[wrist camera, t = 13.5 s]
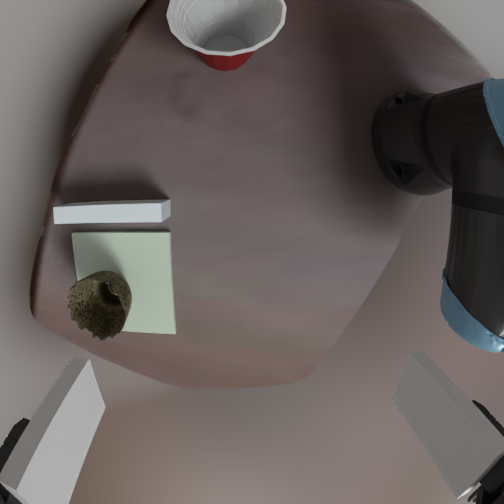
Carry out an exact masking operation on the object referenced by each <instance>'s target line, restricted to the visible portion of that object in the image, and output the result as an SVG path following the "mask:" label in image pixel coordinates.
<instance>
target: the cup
mask: <svg viewBox="0 0 504 504" xmlns="http://www.w3.org/2000/svg"><path fill="white" fill-rule="evenodd" d="M69 292H70V293H69V295H68V298H69V299H70V300H71V301H70V302H69V305H68V308H71V318H72V321H74V322H75V323H77V324H78V327H79V329H80V330H83V329H85V328H87V329H88V330H89V331H90V332H93V338H96V337H97V336H98V337H99V339H100V340H105V339H107V338H108V337H109V336H111V338H114V337H115V336H116V334H117V332H118V333H120V332H121V330H122V329H123V328H124V325H125V322H126V319H127V317H128V314H129V311H130V308H131V304H132V293H131V289H130V287H129V285H128V283H127V281H126V280H125V278H124V277H122V276H121V275H119V274H117V273H115V272H112V271H107V270H104V271H99V272H95V273H93V274H91V275H89V276H87V277H85V278H83V279H81V280H79V281H77V282H75V285H74V286H72V287H71V288H70V290H69Z"/></svg>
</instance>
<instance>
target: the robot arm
mask: <svg viewBox="0 0 504 504" xmlns="http://www.w3.org/2000/svg"><path fill="white" fill-rule="evenodd" d="M372 140H373V147H374V151H375V155H376V158H377V160H378V163H379V165H380V167H381V169H382V170H383V172H384V174H385V175H386V176H387V178H388V179H389V180H390V181H391V182H392V183H393V184H394V185H395V186H397V187H398V188H399V189H401V190H403V191H405V192H407V193H411V194H417V195H433V194H437V193H439V192H442V191H444V190H447V189H449V188H452V208H451V224H450V235H449V243H448V251H447V258H446V265H445V268H444V269H443V273H442V278H443V286H442V293H441V299H440V307H441V312H442V314H443V316H444V318H445V320H446V321H447V322H448V325H449V326H450V327H451V329H453V331H454V332H455V333H456V334H457V335H459V336H460V337H461V338H462V339H464V340H465V341H467V342H468V343H470V344H472V345H474V346H476V347H478V348H480V349H483V350H486V351H490V352H500V351H503V352H504V79H493V78H490V79H487V80H485V81H484V82H480V83H476V84H472V85H468V86H464V87H461V88H457V89H454V90H450V91H447V92H443V93H440V94H433V93H428V92H422V91H415V90H408V91H403V92H400V93H397V94H394V95H392V96H390V97H388V98H387V99H386V100H385V101H384V102H383V103H382V104H381V105H380V107H379V108H378V110H377V112H376V114H375V117H374V121H373V127H372ZM392 400H393V401H394V402H395V404H396V406H397V407H398V408H399V410H400V411H401V413H402V414H403V416H404V417H405V419H406V420H407V422H408V423H409V425H410V426H411V428H412V429H413V431H414V432H415V434H416V435H417V437H418V438H419V440H420V442H421V443H422V445H423V446H424V448H425V449H426V451H427V452H428V454H429V455H430V457H431V458H432V460H433V462H434V463H435V465H436V466H437V468H438V469H439V471H440V472H441V474H442V476H443V477H444V479H445V480H446V482H447V484H448V485H449V487H450V489H451V490H452V492H453V493H454V495H455V497H456V498H457V499H458V498H459V497H461V496H463V495H464V494H466V493H468V492H469V491H471V490H472V489H473V488H474V487H475V486H476V485H477V484H478V483H479V482H480V483H481V486H480V487H479V488H478V489H477V490H476V491H474V492H473V493H472V494H471V496H470V497H469V499H468V502H470V501H471V500H472V499H473V498H474V497H475V496H476V495H477V497H476V498H475V499H474V500H473V502H476V504H504V428H503V427H502V426H501V424H500V423H499V422H498V421H496V420H495V418H494V417H493V416H492V415H490V413H489V411H488V410H487V409H486V408H485V407H484V406H483V405H481V404H480V403H478V402H476V401H474V400H473V401H471V400H470V399H469V398H468V397H467V396H466V395H465V394H464V392H463V391H462V390H461V389H459V387H458V386H457V385H456V384H455V383H454V382H453V381H452V380H451V379H450V378H449V377H448V376H447V375H446V374H445V373H444V372H443V371H442V370H441V368H440V367H438V365H437V364H436V363H435V362H434V361H433V360H432V359H431V358H430V357H429V356H428V355H427V354H426V353H425V352H424V351H423V350H418V351H413V352H409V354H408V357H407V360H406V362H405V366H404V368H403V371H402V374H401V376H400V379H399V382H398V384H397V387H396V389H395V392H394V394H393V397H392ZM104 410H105V405H104V402H103V399H102V396H101V394H100V391H99V388H98V385H97V382H96V379H95V376H94V373H93V369H92V366H91V363H90V360H89V359H88V358H82V357H75V356H74V357H73V358H72V359H71V361H70V362H69V363H68V365H67V366H66V368H65V369H64V370H63V372H62V373H61V375H60V376H59V378H58V379H57V380H56V382H55V383H54V385H53V386H52V388H51V389H50V391H49V392H48V394H47V395H46V397H45V398H44V400H43V402H42V403H41V405H40V406H39V408H38V409H37V411H36V413H35V414H34V416H33V417H32V419H31V420H28V419H25V418H23V419H22V420H20V421H19V422H18V423H17V424H15V425H14V426H13V428H12V430H11V431H10V433H9V434H8V437H7V438H6V439H5V441H4V445H2V446H1V448H0V504H69V501H70V498H71V495H72V492H73V489H74V487H75V484H76V481H77V478H78V475H79V473H80V470H81V467H82V464H83V462H84V459H85V456H86V454H87V451H88V449H89V446H90V444H91V441H92V439H93V436H94V434H95V431H96V429H97V426H98V424H99V422H100V419H101V417H102V414H103V412H104Z"/></svg>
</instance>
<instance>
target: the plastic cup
mask: <svg viewBox="0 0 504 504" xmlns="http://www.w3.org/2000/svg"><path fill="white" fill-rule="evenodd" d="M166 16H167V19H168V23H169V26H170V30H171V32H172V33H173V34H174V35H175V36H176V37H177V38H178V39H179V40H180V41H181V42H182V43H183V44H184V45H185V46H187V47H190V48H192V49H195V51H196V52H197V53H198V54H199V55H200V56H201V57H202V59H203V60H204V61H205V62H206V63H207V64H208V65H209V66H210V67H212V68H215V69H217V70H222V71H229V70H233V69H236V68H238V67H240V66H241V65H243V64H244V63H245V62H246V61H247V59H248V58H249V57H250V56H251V55H252V54H253V52H254V51H255V50H256V49H258V48H259V47H261V46H263V45H264V44H266V43H268V42H270V41H271V40H273V39H274V38H275V36H276V35H277V33H278V32H279V31H280V29H281V28H282V27H283V25H284V24H285V16H286V5H285V2H284V0H170V3H169V7H168V11H167V14H166Z"/></svg>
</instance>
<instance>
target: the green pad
mask: <svg viewBox="0 0 504 504" xmlns="http://www.w3.org/2000/svg"><path fill="white" fill-rule="evenodd" d="M72 243H73V252H74V261H75V268H76V275H77V281H79V280H81V279H83V278H85V277H87V276H89V275H91V274H93V273H95V272H99V271H104V270H107V271H112V272H115V273H117V274H119V275H121V276H122V277H124V278H125V280H126V281H127V283H128V285H129V287H130V289H131V293H132V304H131V308H130V311H129V314H128V317H127V319H126V322H125V325H124V328H123V329H122V330H121V331H131V332H145V333H162V334H176V321H175V309H174V295H173V279H172V258H171V232H74V233H72Z"/></svg>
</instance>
